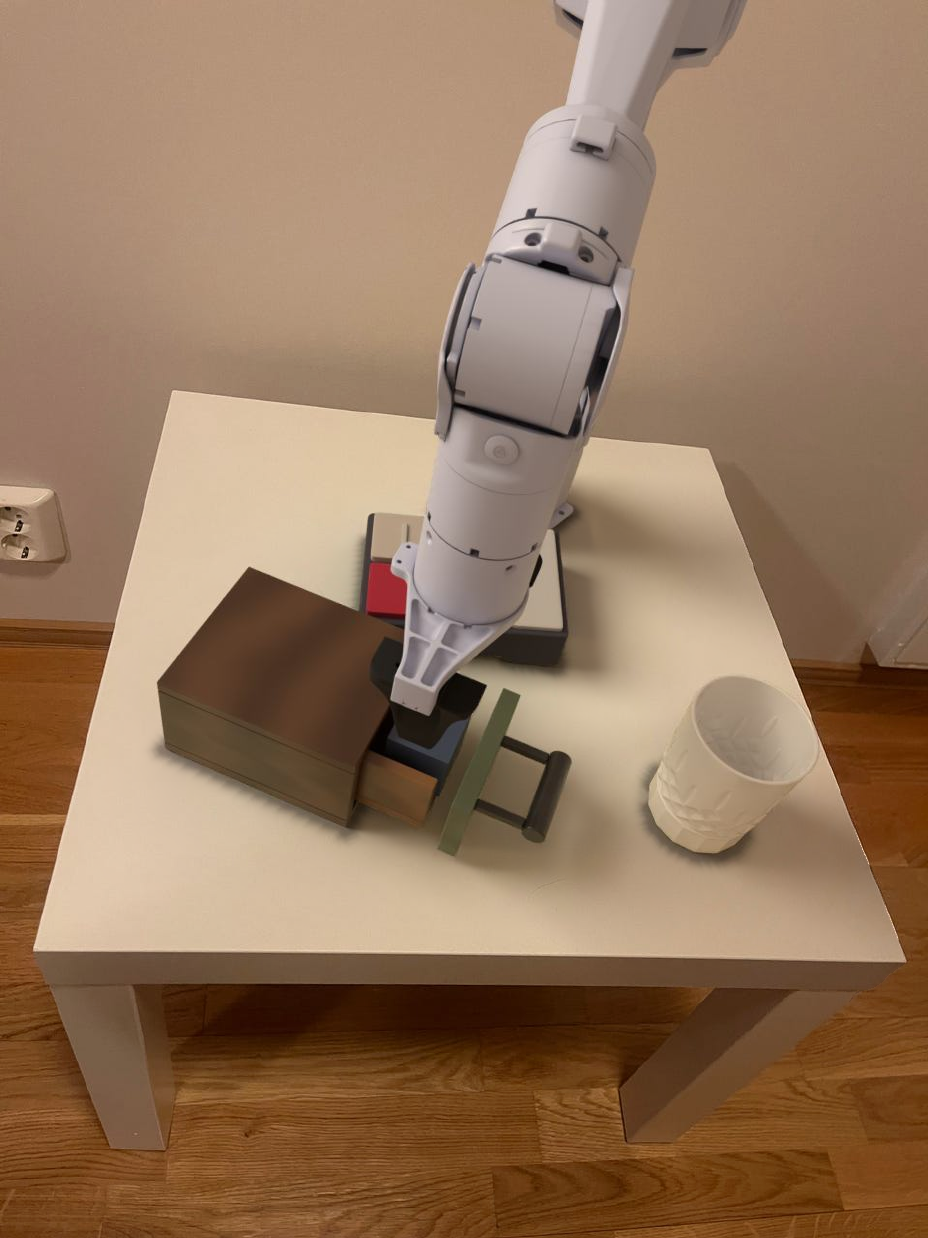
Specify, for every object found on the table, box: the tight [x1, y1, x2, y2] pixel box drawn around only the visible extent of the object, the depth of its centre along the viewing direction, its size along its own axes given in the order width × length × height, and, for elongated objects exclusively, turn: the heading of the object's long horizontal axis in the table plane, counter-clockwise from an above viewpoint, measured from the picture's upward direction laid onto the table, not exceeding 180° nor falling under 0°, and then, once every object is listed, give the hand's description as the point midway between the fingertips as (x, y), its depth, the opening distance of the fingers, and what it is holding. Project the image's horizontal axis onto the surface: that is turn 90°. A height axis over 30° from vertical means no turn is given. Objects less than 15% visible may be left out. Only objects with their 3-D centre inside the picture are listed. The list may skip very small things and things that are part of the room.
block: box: [383, 716, 472, 798], centre depth 56 cm, size 4×4×4 cm
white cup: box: [647, 673, 820, 854], centre depth 58 cm, size 8×8×10 cm
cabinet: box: [156, 566, 405, 828], centre depth 58 cm, size 13×11×7 cm
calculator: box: [358, 512, 570, 667], centre depth 68 cm, size 11×4×15 cm
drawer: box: [354, 687, 573, 858], centre depth 57 cm, size 16×9×5 cm, turn 69°
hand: (441, 688), depth 52 cm, fingers open, 7 cm apart
